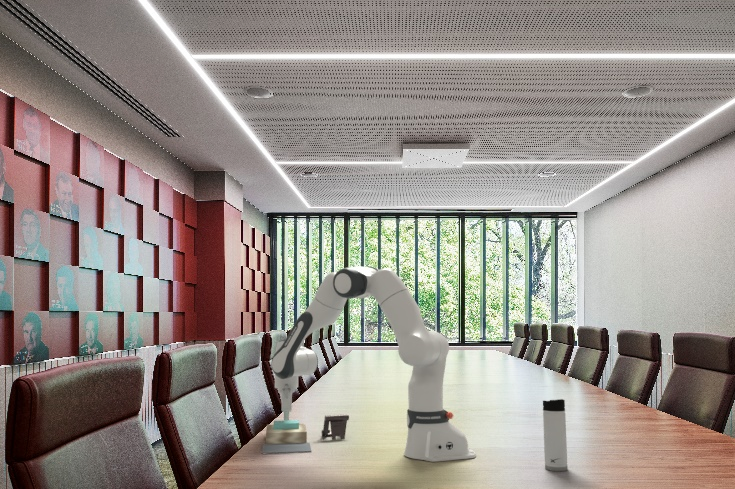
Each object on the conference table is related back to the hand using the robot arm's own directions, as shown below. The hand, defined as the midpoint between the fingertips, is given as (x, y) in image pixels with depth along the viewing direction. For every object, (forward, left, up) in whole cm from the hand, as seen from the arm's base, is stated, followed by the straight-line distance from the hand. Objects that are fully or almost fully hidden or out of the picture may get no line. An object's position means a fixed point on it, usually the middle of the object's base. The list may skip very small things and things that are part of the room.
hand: (286, 420), depth 230 cm
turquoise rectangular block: (0, +7, -1) cm, 8 cm away
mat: (0, +23, -5) cm, 24 cm away
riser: (0, +8, -5) cm, 10 cm away
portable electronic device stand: (-18, +7, -6) cm, 20 cm away
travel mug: (-77, +63, -5) cm, 100 cm away
